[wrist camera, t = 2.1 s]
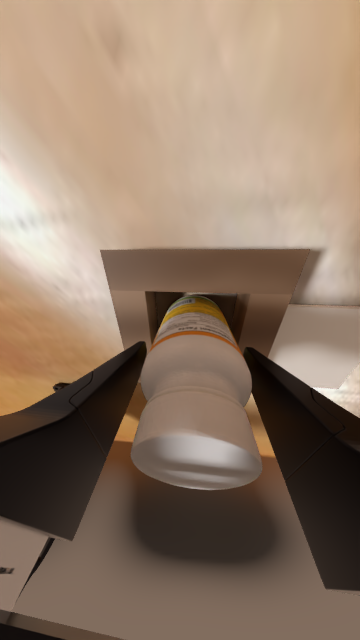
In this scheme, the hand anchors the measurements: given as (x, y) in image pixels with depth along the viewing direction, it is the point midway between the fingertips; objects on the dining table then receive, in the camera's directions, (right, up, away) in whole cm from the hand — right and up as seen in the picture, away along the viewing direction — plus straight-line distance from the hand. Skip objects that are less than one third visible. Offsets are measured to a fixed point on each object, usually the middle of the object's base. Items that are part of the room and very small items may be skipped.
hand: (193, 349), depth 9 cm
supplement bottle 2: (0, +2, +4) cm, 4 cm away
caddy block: (0, +2, +4) cm, 4 cm away
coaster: (+11, -1, +4) cm, 12 cm away
